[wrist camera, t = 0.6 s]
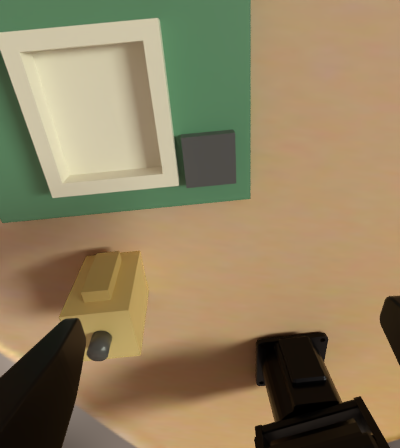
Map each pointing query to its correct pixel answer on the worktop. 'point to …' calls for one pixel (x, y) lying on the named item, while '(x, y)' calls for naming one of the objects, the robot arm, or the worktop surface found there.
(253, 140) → the worktop surface
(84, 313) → the plug
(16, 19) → the board
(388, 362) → the worktop surface
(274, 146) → the worktop surface
